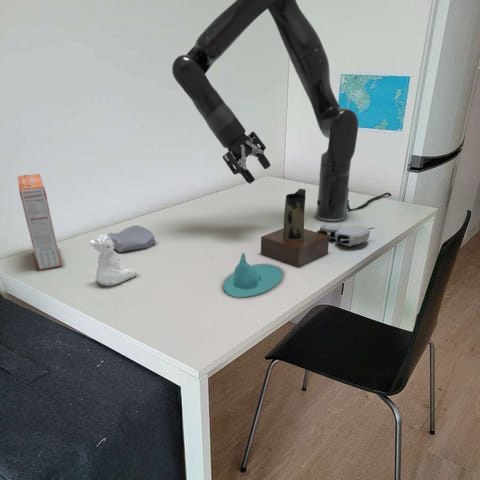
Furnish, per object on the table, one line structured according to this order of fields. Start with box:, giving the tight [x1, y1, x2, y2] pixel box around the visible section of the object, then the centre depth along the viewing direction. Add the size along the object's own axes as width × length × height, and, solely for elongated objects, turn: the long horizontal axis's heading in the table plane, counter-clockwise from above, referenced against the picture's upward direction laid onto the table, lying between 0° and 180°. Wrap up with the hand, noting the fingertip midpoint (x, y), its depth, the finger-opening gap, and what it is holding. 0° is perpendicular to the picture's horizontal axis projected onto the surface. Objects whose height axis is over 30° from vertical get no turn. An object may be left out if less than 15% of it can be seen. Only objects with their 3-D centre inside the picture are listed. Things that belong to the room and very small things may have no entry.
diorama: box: [223, 252, 283, 299], centre depth 115 cm, size 12×20×9 cm, turn 151°
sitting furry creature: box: [88, 233, 138, 287], centre depth 114 cm, size 10×9×12 cm
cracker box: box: [17, 173, 62, 271], centre depth 123 cm, size 14×6×21 cm, turn 23°
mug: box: [283, 188, 307, 241], centre depth 126 cm, size 8×6×12 cm
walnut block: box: [260, 227, 330, 268], centre depth 130 cm, size 13×13×5 cm
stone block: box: [107, 224, 156, 253], centre depth 136 cm, size 12×5×10 cm
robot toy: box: [316, 222, 376, 248], centre depth 139 cm, size 12×4×15 cm
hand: (260, 174), depth 136 cm, fingers open, 8 cm apart
